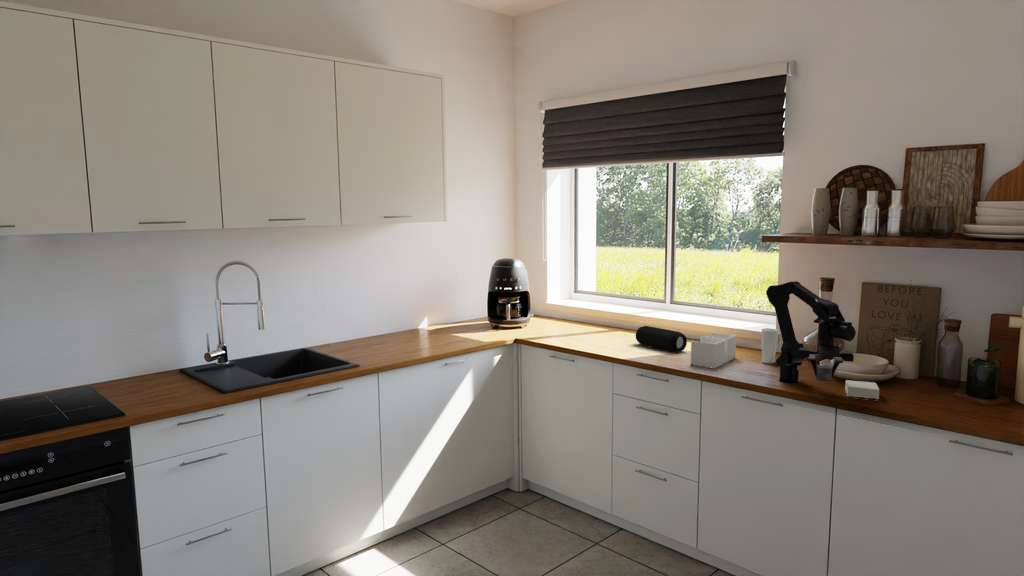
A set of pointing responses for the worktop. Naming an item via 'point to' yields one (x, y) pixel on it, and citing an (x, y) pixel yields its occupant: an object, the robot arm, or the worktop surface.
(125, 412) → the worktop surface
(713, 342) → the storage container
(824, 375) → the charcoal cube
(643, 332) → the portable speaker
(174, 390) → the worktop surface
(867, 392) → the cream base block
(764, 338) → the white tumbler
